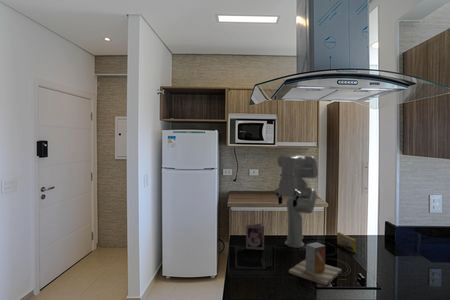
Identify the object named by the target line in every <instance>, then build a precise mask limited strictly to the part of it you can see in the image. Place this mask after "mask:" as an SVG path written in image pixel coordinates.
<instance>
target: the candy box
mask: <svg viewBox="0 0 450 300" xmlns="http://www.w3.org/2000/svg"><path fill="white" fill-rule="evenodd" d="M336 235H337V239H336V240H337V241H336V244H337V245H338V244H339V245H338V246H340V245H341V246H340V247H342V246H343V247H344V249H345V248H346V250H347V249H348V251H349V250H350V251H349V252H351V251H352V252H351V253H353V252H356V253H357V240H356V239H355V238H352V237H351V236H348V235H346V234H344V233H342V232H339V231H338V232H336ZM343 247H342V248H343Z"/></svg>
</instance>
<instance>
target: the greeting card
mask: <svg viewBox="0 0 450 300" xmlns="http://www.w3.org/2000/svg"><path fill="white" fill-rule="evenodd" d="M245 231H246V232H245V233H246V235H245V250H258V251H259V250H260V251H263V250H265V226H263V225H262V223H261V222H260V223H253V224H246V230H245Z"/></svg>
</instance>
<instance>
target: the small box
mask: <svg viewBox="0 0 450 300" xmlns="http://www.w3.org/2000/svg"><path fill="white" fill-rule="evenodd" d="M305 259H306V267H305V268H306V269H307V270H309V271H311V272H313V273H316V272H319V271H323V270H325V265H326V245H324V244H322V243H320V242H318V241H316V242H311V243H308V244H306V245H305Z"/></svg>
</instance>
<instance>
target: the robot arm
mask: <svg viewBox="0 0 450 300" xmlns="http://www.w3.org/2000/svg"><path fill="white" fill-rule="evenodd" d="M277 164H278V167H280V168H281V174H279V177H281V178H280V179H279V183H278V188H276V189H274V193H275V195H276V196H277V198H278V199H277V201H278V205H282V204H283V196H284V197H288V199H287V200H286V209H287V231H286V232H287V235H286V240H285V241H284V245H286V246H287V247H289V248H290V247H291V248H296V249H297V248H303V247H304V246H305V242H303V240H304V238H305V236H304V235H303V217H302V215H301V213H303V214H312V213H313V212H314V208H315V203H316V199H317V192H316V190H315V188H313V187H308V184H307V182H306V181H305V179H312V180H313V179H317V177H318V175H319V170H318V164H317V161H316V157H314V156H313V155H297V154H295V155H294V154H293V155H279V156H278V157H277Z"/></svg>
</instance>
